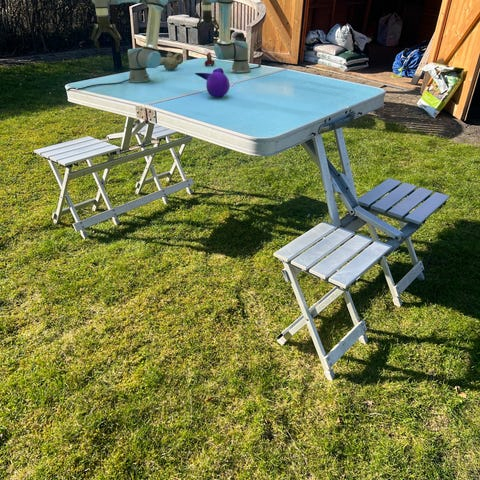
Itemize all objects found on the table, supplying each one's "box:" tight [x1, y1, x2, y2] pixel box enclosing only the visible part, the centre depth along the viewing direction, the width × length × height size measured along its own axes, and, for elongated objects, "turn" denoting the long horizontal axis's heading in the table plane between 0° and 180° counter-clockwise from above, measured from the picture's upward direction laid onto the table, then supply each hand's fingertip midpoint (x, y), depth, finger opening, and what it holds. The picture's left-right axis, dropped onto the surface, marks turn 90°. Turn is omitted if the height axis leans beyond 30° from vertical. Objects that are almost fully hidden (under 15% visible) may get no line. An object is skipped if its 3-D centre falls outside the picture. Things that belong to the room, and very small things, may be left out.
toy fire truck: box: [204, 52, 216, 67], centre depth 391 cm, size 7×12×10 cm, turn 171°
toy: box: [195, 67, 230, 99], centre depth 289 cm, size 16×18×27 cm
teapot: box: [160, 50, 184, 71], centre depth 373 cm, size 21×12×15 cm, turn 120°
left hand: (108, 51), depth 295 cm, fingers open, 13 cm apart
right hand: (208, 38), depth 383 cm, fingers open, 13 cm apart
